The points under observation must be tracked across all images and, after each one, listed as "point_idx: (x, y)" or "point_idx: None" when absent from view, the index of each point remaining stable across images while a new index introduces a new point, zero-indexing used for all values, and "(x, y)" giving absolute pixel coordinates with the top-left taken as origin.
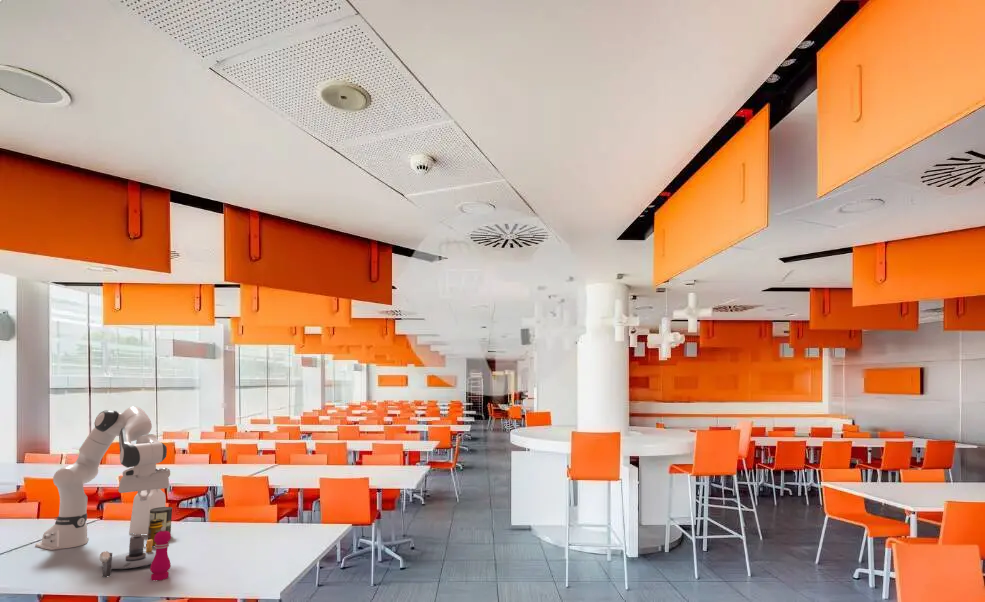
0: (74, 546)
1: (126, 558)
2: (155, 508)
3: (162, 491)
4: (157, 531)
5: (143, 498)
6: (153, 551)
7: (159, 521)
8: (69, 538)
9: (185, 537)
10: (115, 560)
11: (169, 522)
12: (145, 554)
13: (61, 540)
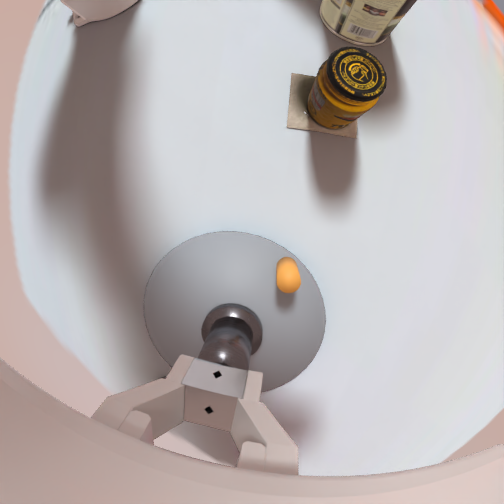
0: (117, 13)
1: (204, 339)
2: None
3: None
4: (350, 117)
5: (214, 379)
6: (300, 277)
7: (371, 99)
8: (95, 4)
9: (430, 86)
10: (177, 309)
11: (402, 17)
12: (259, 345)
13: (82, 11)
